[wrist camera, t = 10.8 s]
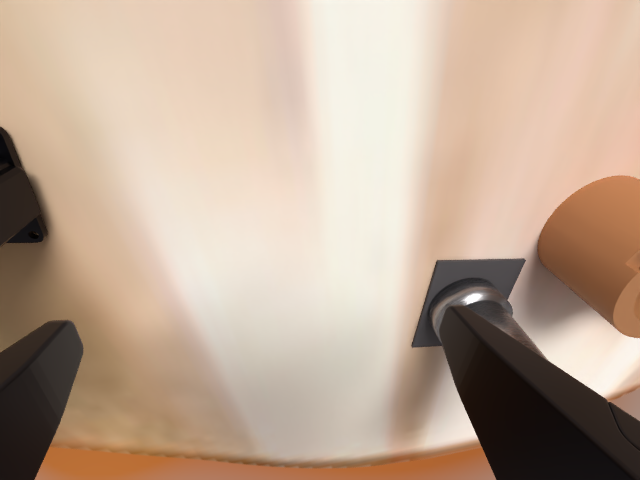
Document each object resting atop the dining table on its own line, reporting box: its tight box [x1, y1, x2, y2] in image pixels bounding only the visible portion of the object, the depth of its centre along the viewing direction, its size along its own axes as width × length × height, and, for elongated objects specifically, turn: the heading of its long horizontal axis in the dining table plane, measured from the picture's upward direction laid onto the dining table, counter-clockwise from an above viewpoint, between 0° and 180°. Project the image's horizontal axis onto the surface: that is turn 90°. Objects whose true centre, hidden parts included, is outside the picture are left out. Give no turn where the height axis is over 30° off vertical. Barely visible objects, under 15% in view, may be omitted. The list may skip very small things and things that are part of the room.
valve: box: [427, 277, 548, 360], centre depth 21 cm, size 6×6×15 cm
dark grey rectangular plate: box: [412, 259, 526, 348], centre depth 28 cm, size 7×9×1 cm
